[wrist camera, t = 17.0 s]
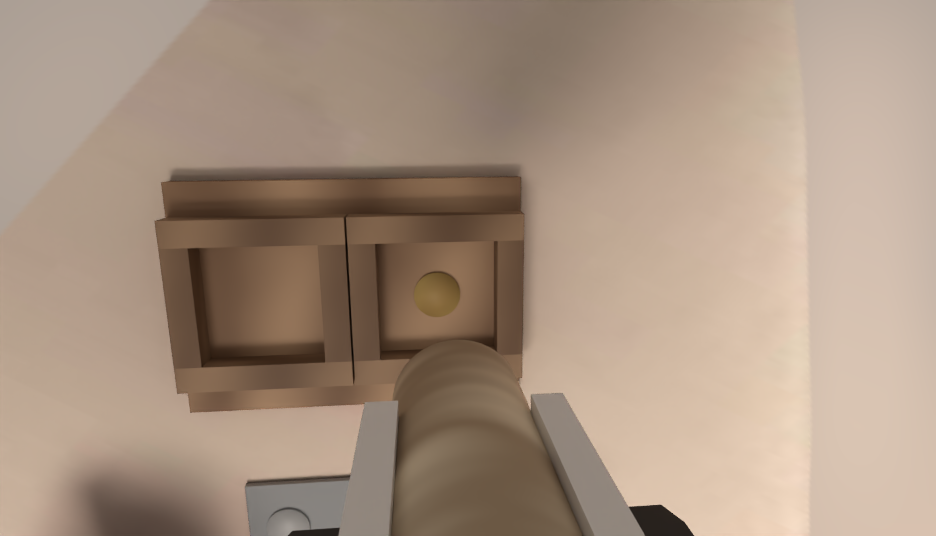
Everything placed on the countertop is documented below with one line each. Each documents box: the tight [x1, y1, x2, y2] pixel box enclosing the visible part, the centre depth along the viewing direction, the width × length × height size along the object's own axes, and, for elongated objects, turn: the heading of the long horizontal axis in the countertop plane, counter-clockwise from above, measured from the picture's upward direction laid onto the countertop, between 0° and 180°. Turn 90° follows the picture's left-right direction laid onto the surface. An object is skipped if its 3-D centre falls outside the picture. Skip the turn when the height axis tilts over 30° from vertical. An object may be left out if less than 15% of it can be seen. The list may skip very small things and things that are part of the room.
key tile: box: [245, 477, 350, 536], centre depth 30 cm, size 8×5×1 cm, turn 90°
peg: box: [391, 340, 583, 536], centre depth 11 cm, size 4×4×10 cm
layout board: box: [155, 176, 524, 413], centre depth 26 cm, size 16×11×2 cm
